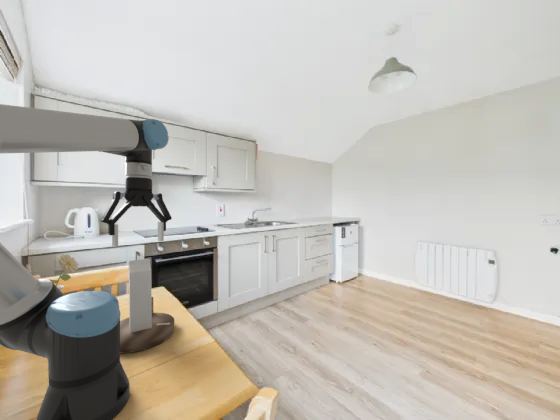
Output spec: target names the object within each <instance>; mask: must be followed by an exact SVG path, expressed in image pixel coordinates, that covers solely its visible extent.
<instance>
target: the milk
mask: <svg viewBox="0 0 560 420" xmlns="http://www.w3.org/2000/svg"><path fill="white" fill-rule="evenodd" d="M151 297H152V267H151V259H150V258H142V259H131V260H129V261H128V311H129V312H128V314H129V315H128V318H129V326H130V333H133V332H137V331H141V330H145V329H148V328H152V298H151Z"/></svg>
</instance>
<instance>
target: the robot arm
mask: <svg viewBox="0 0 560 420" xmlns="http://www.w3.org/2000/svg"><path fill="white" fill-rule="evenodd" d="M168 142H169V132H168V129H167V127H166V125H164V123H162V122H161V120H158V119H144V120H143V119H142V120H138V119H127V118H122V117H121V118H120V117H112V116H103V115H94V114H87V113H86V114H85V113H77V112H71V111H70V112H68V111H62V110H61V111H60V110H52V109H44V108H36V107H26V106H18V105H11V104H10V105H9V104H2V103H0V154H31V153H32V154H34V153H36V154H37V153H38V154H39V153H69V152H71V153H76V152H77V153H78V152H82V153H83V152H99V153H100V152H102V153H106V154H112V155H117V156H121V157H124V165H125V166H124V167H125V168H124V172H125V173H124V175H125V176H126V177H125V179H124V180H125V181H124V182H125V183H124V185H125V186H124V188H125V189H124V190H125V192H120V191H114V192H113V194H112V199H111V201H110V203H109V204H108V206H107V208H106V210H105V212H104V213H103V215H102V216H101V218H100V223H104V224H107V229H108V230H107V231H108V233H107V234H108V235H109V236H111V237H112V238H111V239H112V241H111V245H112V246H113V247H115V248H116V247H119V224H118V223H117V222H118V221H119V220H120V219H121V218H122V217H123V215H124V214H125V213H127V212H128V210H129V209H130V208H132V207H147V209H149V210H150V212H151V213H152V214H154V216H155V217H156V218H157V219H158V220H159V222H158V221H157V242H165V239H164V235H165V233H164V232H166V231H167V222H168V221H171V220H172V215H171V214H170V211H169V209H168V208H167V205H166V203H165V202H164V200H163V199H164V198H163V194H162V193H153V179H151V178H152V177H153V151H156V150H160V149H164V148H165V147H166V146H167V145H168ZM123 198H124V199H125V200H126V201H125V202H124V203H123V205H122V206H121V207H120V208H119V209H118V210H116V212H115V213H114V211H115V209H116V208H117V207H118V204H119V202H120V200H122V199H123ZM153 199H154V200H155V201H156V204H157V205H158V208H159V209H158V208H157V207H156V206H155V203H153V202H152V200H153ZM113 213H114V214H113ZM112 215H113V216H112ZM116 223H117V224H116ZM50 280H51V279H50ZM50 280H49V279H48V278H36V277H35V276H34V275H33V274H32V273H31V272H30V271H29V270H28V269H27V268H26V267H25V266H24V264H23V263H21V262H20V261H19V260H18V259H17V258H16V257H15V256H14V255H13V254H12V253H11V252H10V251H9V249H7V248H6V246H4V245H3V244H2V243H1V242H0V346H2V347H4V348H6V349H8V350H13V351H21V352H23V353H28V354H31V355H36V356H37V357H42V358H45V359H47V365H48V367H47V368H48V370H47V371H48V373H47V374H48V385H47V389H46V391H45V395H44V397H43V400H42V402H41V406H40V408H39V411H38V414H37V417H36V420H113V419H114V418H115V417H116V416H117V415H118V414H120V412H121V411H122V410H123V409H124V408H125V406H126V404H127V403H128V401H129V398H130V392H131V391H130V389H131V387H130V380H129V378H128V376H127V373H126V371H125V369H124V367H123V364H122V363H121V355H120V354H121V353H120V321H121V310H120V303H119V300H118V298H117V296H116V295H114V294H113V293H111V292H107V291H103V290H93V291H89V290H82V291H76V292H72V293H71V292H70V293H68V294H64V293H63V292H62V290H61V291H60V290H59V289H58V288H57V287H56V284H55V283H52V282H51V281H50Z"/></svg>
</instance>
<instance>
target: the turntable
mask: <svg viewBox="0 0 560 420" xmlns="http://www.w3.org/2000/svg"><path fill="white" fill-rule="evenodd" d="M151 298H152V328H148V329H145V330H141V331H137V332H133V333H130V326H129V317H126V318H123V319H120V354H127V353H128V354H129V353H134V352H136V353H137V352H140V351H143V350H147V349H150V348H152V347H155V346H157V345H159V344H161V343H162V342H165V341H166V340H167V339H169V338H170V337H172V335H173V333H174V332H175V317H174V316H172V315H171V314H168V313H164V312H154V296H151Z"/></svg>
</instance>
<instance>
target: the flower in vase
mask: <svg viewBox="0 0 560 420" xmlns="http://www.w3.org/2000/svg"><path fill="white" fill-rule="evenodd" d="M58 265H59V266H60V269H61V271H60V273H59V277H58V279H57V280H54V279H49V280H50V281H51V282H52V283H53V284H55V286H56V287H57V288H58V289H59V290H60V291H61V292H62V290H63V289H64V288H65V285H63V284H61V285H58V283H60V282H59V281H60V280H62V281H65V282H67V281H69V280H70V279H71V275H69V274H76V271H79V263H78V262H77V261H76V260H75V257H71V255H70V254H67V253H66V254H64V253H62V255H60V257H59V258H58ZM63 271H64V272H65V273H63ZM68 273H69V274H68Z"/></svg>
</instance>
